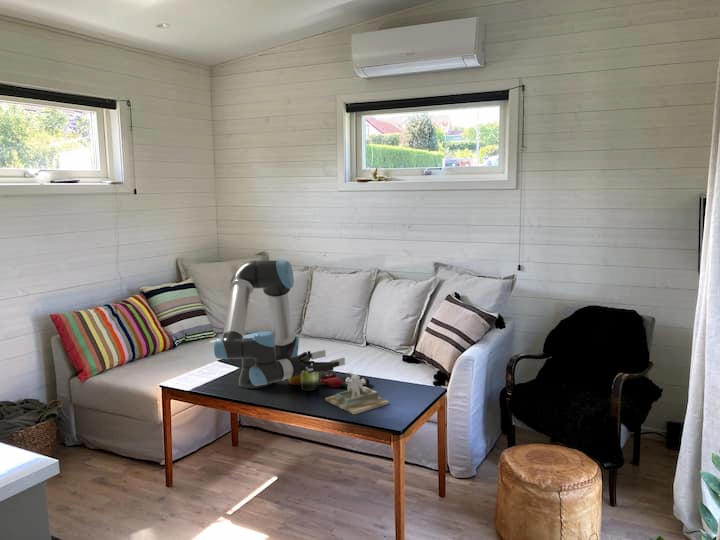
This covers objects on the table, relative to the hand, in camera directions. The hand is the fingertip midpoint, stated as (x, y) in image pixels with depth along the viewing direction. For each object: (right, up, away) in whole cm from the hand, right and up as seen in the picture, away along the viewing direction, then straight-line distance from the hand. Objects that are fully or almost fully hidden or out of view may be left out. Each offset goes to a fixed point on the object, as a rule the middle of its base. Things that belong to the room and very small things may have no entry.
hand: (334, 357), depth 238 cm
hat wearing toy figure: (+9, -19, +10) cm, 24 cm away
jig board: (+9, -20, +10) cm, 24 cm away
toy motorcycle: (+1, -18, +30) cm, 35 cm away
